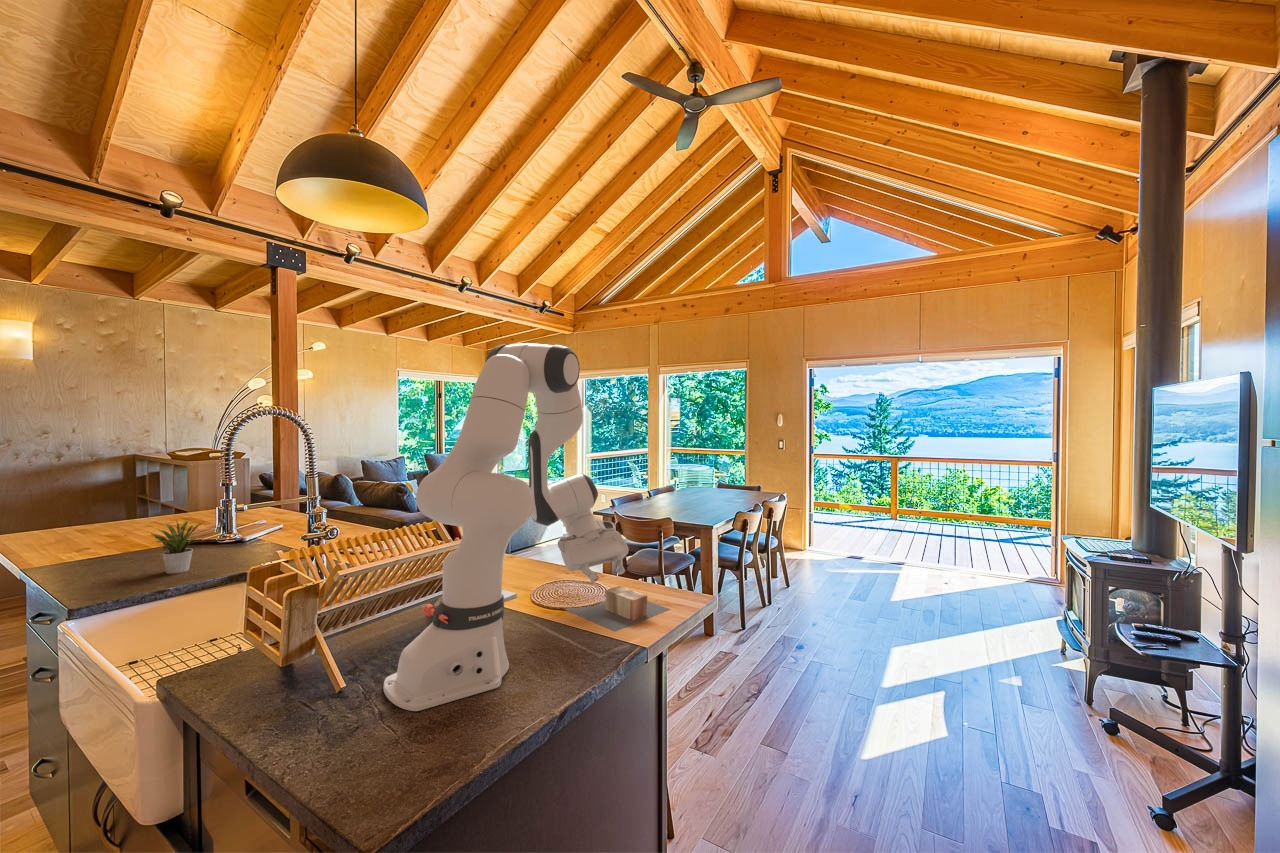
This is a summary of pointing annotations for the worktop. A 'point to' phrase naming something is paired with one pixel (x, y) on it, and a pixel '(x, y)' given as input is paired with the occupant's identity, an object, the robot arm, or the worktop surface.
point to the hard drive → (508, 595)
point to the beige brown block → (626, 602)
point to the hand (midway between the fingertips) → (609, 576)
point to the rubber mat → (614, 615)
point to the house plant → (177, 548)
